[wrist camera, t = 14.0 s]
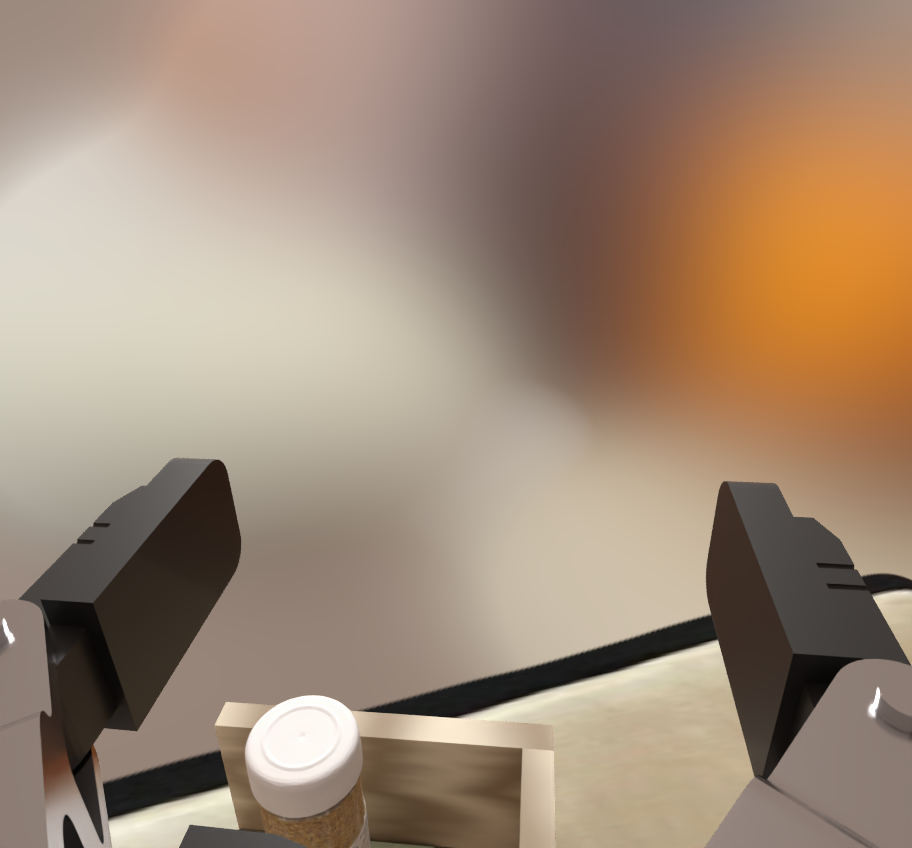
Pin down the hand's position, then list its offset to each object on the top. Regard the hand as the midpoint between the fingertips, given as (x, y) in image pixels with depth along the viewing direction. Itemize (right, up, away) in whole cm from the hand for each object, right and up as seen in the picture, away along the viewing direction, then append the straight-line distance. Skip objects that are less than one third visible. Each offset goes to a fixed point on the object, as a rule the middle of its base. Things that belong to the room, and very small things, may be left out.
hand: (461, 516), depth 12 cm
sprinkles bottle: (-6, -23, +23) cm, 33 cm away
